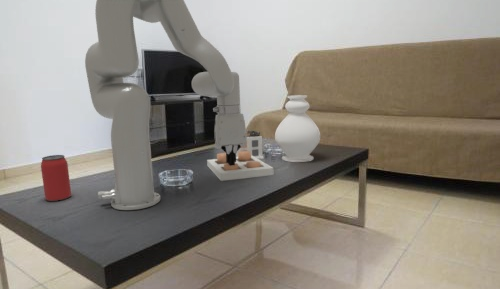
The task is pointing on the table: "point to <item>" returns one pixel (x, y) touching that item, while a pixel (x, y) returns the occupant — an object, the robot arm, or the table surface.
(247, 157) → the button back right
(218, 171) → the button board
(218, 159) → the button back left
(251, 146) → the pattern card
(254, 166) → the button front right
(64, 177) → the beer can
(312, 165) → the table surface
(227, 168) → the button front left
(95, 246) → the table surface
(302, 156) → the decorative vase
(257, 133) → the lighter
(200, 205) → the table surface
